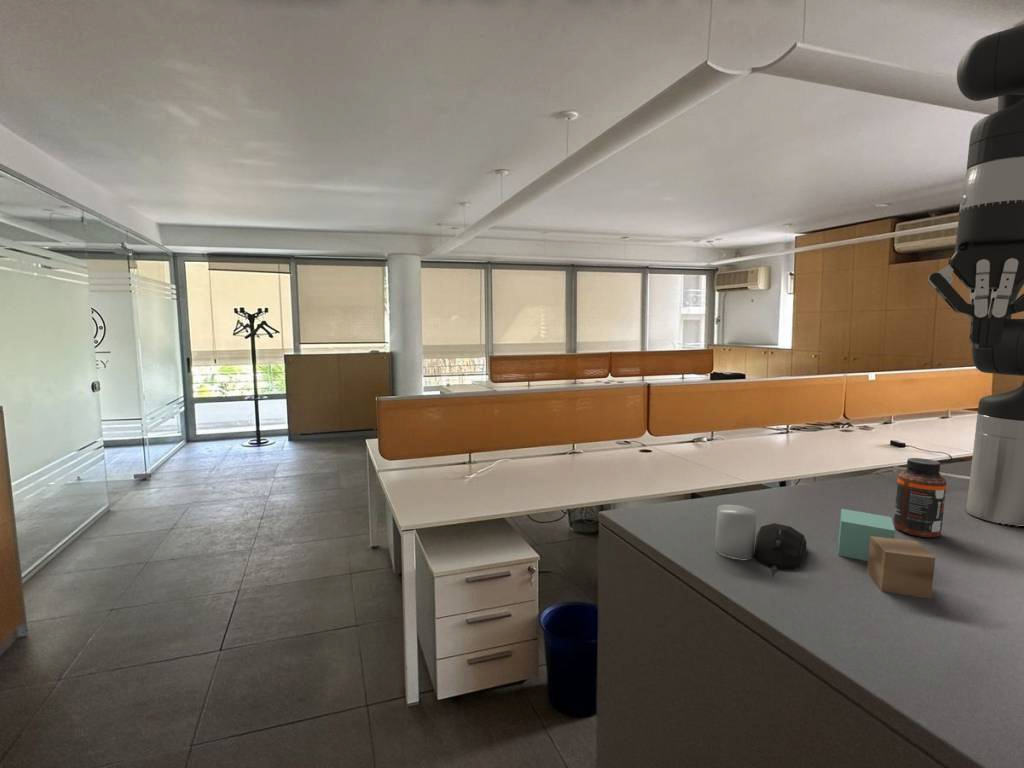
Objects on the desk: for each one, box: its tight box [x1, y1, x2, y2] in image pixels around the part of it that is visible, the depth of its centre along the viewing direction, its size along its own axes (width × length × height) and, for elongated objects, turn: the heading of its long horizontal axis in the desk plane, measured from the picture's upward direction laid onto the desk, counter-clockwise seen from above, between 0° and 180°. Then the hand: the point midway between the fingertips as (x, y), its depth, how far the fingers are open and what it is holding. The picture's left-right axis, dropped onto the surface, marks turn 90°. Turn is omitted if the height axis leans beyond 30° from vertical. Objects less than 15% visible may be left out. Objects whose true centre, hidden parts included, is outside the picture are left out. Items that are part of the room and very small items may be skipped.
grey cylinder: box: [714, 503, 758, 560], centre depth 73 cm, size 5×5×6 cm
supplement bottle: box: [893, 457, 947, 539], centre depth 81 cm, size 6×6×11 cm
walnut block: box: [866, 536, 936, 599], centre depth 64 cm, size 5×5×5 cm
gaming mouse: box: [753, 522, 808, 578], centre depth 72 cm, size 6×15×4 cm, turn 148°
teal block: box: [837, 508, 896, 562], centre depth 74 cm, size 6×6×5 cm
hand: (983, 348), depth 65 cm, fingers closed
